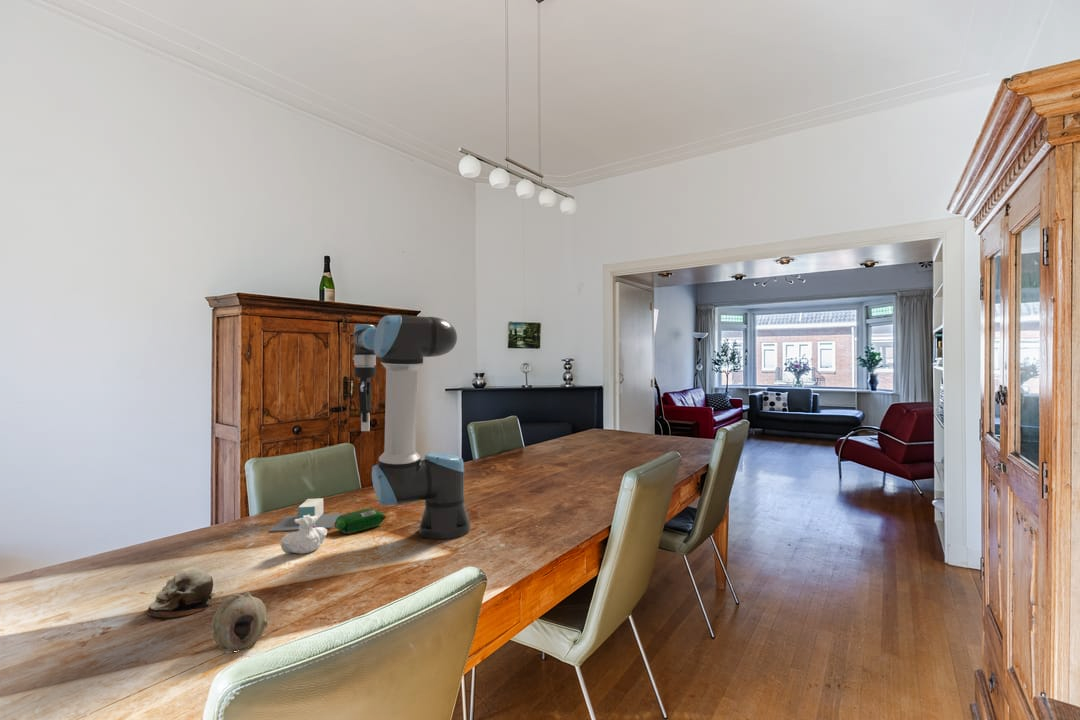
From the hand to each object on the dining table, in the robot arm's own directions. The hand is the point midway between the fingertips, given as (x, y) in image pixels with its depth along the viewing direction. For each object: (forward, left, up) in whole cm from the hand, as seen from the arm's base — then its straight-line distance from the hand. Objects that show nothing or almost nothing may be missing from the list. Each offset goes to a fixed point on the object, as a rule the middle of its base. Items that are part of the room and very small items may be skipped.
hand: (365, 430), depth 181 cm
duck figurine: (-46, +7, -27) cm, 54 cm away
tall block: (-12, +14, -23) cm, 30 cm away
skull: (-73, +23, -27) cm, 81 cm away
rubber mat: (-21, +14, -26) cm, 36 cm away
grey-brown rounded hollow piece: (-91, +4, -27) cm, 95 cm away
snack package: (-29, -4, -27) cm, 39 cm away
